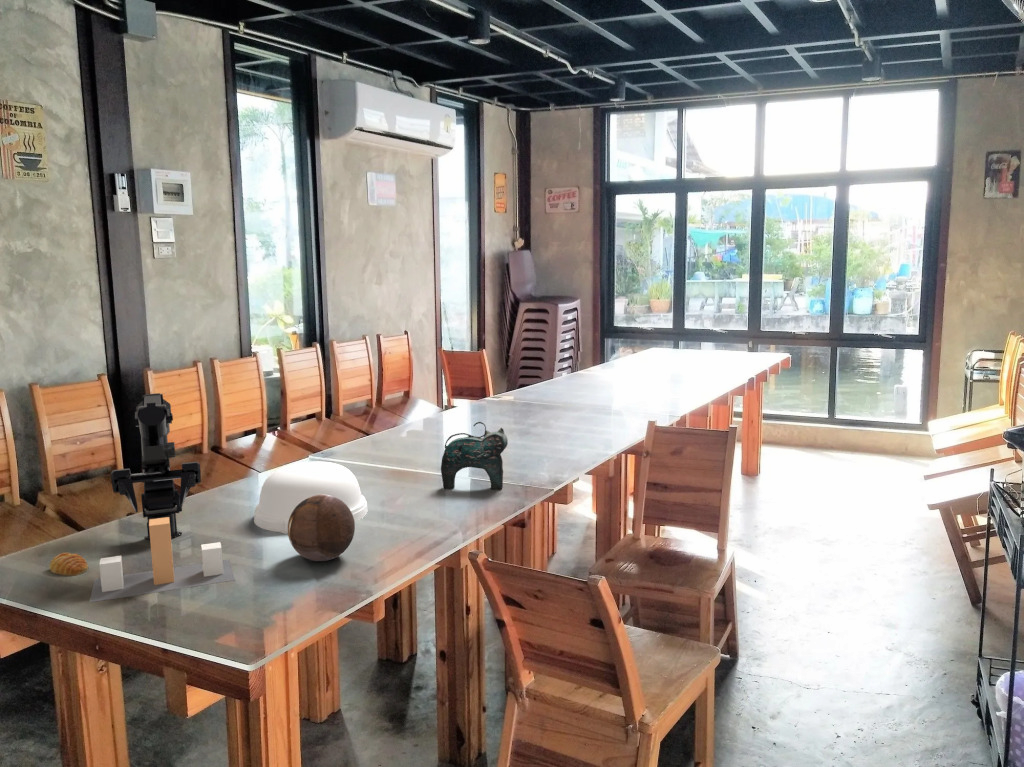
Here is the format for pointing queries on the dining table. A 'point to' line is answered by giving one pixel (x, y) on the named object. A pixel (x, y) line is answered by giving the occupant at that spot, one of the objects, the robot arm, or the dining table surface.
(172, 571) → the tan wooden plank
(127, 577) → the charcoal mat
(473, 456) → the ceramic cat
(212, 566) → the white paddle
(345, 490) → the dome cover
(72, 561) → the pastry
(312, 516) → the wooden sphere
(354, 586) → the dining table surface
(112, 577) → the white paddle
